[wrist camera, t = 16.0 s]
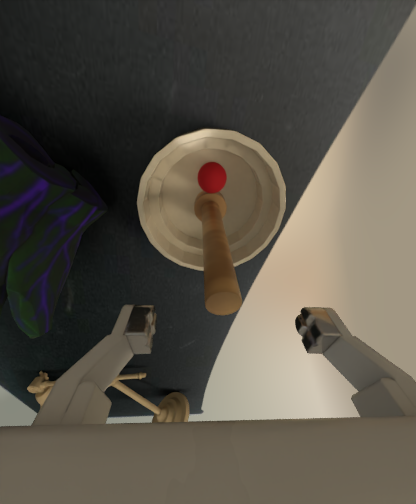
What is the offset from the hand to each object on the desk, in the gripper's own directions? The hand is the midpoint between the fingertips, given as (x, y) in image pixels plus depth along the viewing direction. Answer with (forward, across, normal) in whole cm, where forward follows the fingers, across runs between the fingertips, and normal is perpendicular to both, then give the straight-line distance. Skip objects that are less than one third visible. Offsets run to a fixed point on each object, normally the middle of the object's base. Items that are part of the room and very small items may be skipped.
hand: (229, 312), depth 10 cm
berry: (+15, 0, -3) cm, 15 cm away
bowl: (+17, 0, 0) cm, 17 cm away
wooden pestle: (+16, 0, 0) cm, 16 cm away
